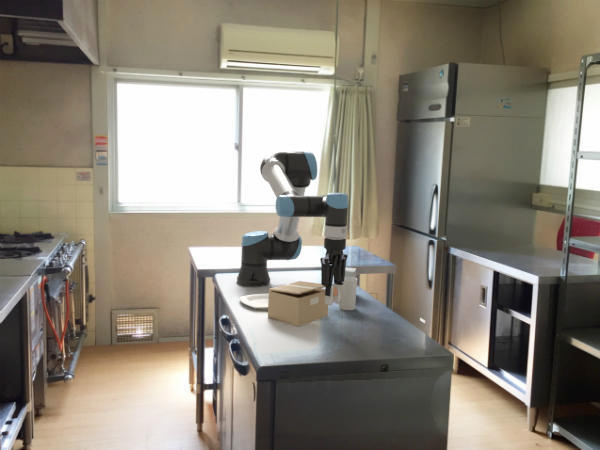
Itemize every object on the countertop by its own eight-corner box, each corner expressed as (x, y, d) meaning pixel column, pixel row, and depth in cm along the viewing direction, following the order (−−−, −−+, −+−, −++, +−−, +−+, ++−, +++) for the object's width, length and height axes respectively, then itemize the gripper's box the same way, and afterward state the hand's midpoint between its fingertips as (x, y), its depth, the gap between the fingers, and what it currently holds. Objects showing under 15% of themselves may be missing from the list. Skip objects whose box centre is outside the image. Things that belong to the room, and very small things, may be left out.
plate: (252, 314, 212) (252, 308, 211) (233, 300, 228) (233, 295, 228) (297, 309, 220) (297, 304, 220) (276, 296, 237) (277, 292, 237)
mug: (352, 305, 227) (354, 276, 226) (357, 310, 221) (359, 280, 219) (328, 306, 225) (330, 276, 224) (332, 310, 219) (334, 280, 217)
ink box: (352, 298, 238) (354, 271, 236) (332, 297, 240) (334, 269, 238) (355, 294, 246) (356, 267, 245) (335, 292, 248) (337, 265, 246)
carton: (267, 317, 206) (268, 291, 205) (298, 308, 220) (299, 283, 219) (297, 326, 198) (299, 298, 196) (327, 316, 212) (329, 290, 210)
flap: (268, 293, 205) (268, 285, 205) (299, 285, 219) (299, 277, 219) (321, 301, 190) (321, 292, 190) (350, 292, 204) (350, 283, 204)
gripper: (330, 241, 187) (327, 310, 190) (357, 236, 200) (353, 301, 203) (312, 238, 192) (309, 305, 195) (339, 234, 204) (336, 297, 208)
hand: (331, 303), depth 199 cm, fingers closed on flap, 3 cm apart
